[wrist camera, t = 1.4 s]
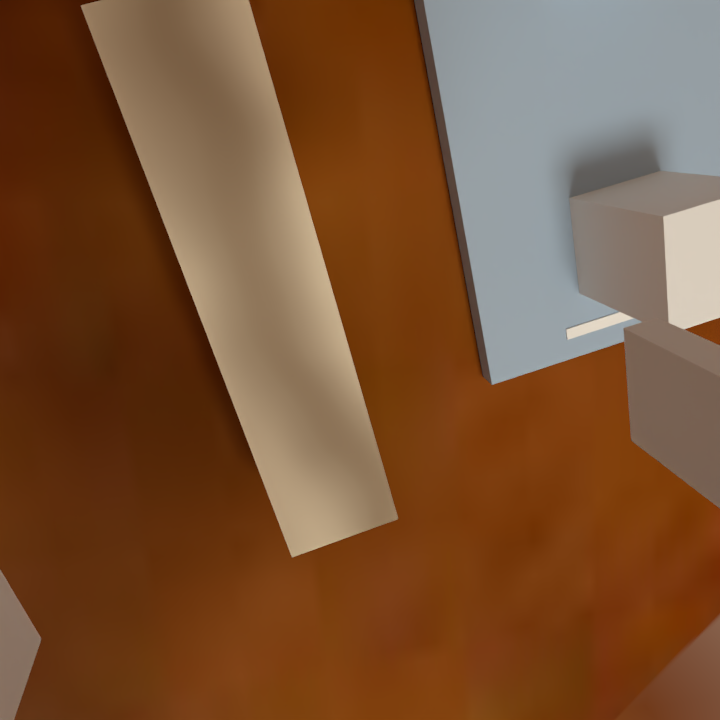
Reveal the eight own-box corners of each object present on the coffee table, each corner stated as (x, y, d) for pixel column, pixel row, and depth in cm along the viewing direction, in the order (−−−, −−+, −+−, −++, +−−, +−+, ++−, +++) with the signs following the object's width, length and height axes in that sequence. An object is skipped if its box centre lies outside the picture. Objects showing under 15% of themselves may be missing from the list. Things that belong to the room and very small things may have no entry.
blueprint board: (483, 376, 34) (558, 446, 27) (374, -214, 24) (447, -367, 17) (739, 292, 36) (878, 335, 29) (737, -290, 26) (949, -459, 19)
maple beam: (277, 476, 34) (292, 557, 28) (113, 36, 25) (80, 5, 19) (363, 446, 35) (398, 518, 28) (232, 5, 26) (238, -36, 20)
